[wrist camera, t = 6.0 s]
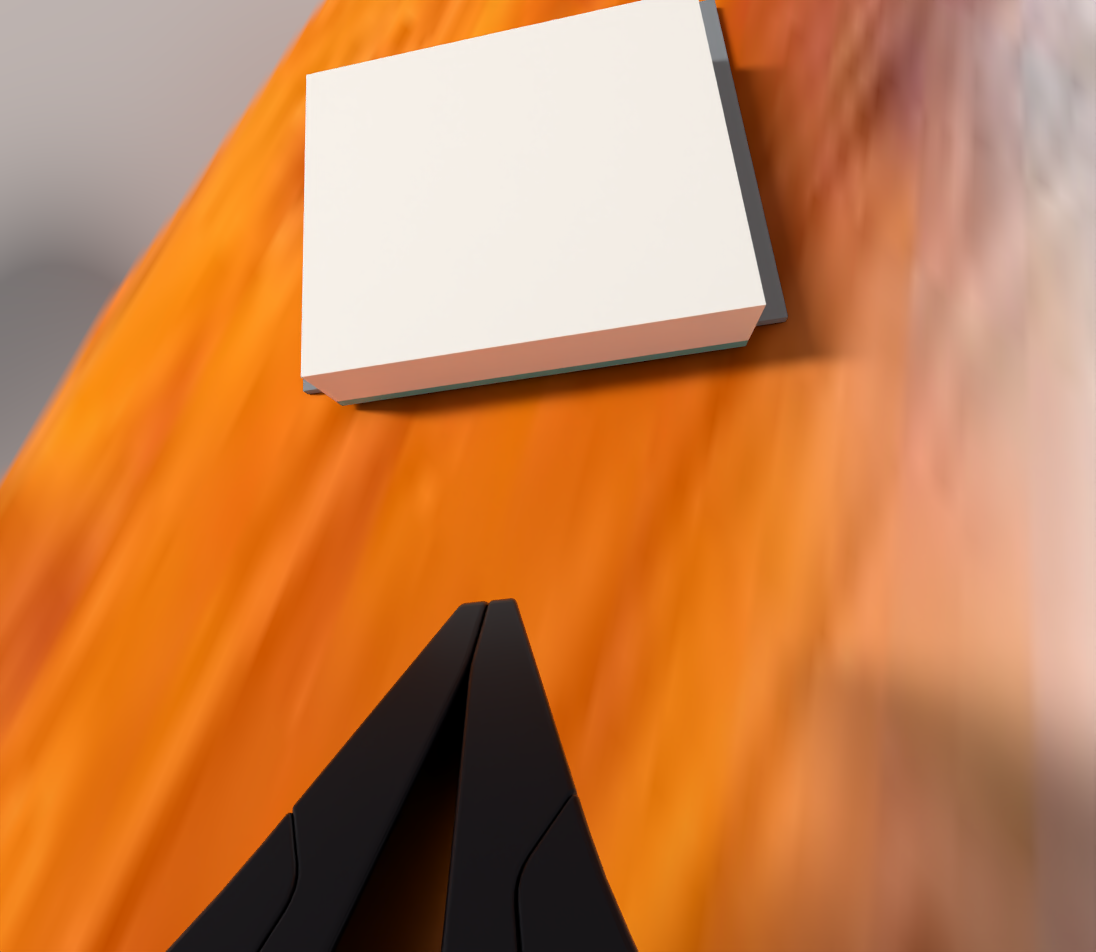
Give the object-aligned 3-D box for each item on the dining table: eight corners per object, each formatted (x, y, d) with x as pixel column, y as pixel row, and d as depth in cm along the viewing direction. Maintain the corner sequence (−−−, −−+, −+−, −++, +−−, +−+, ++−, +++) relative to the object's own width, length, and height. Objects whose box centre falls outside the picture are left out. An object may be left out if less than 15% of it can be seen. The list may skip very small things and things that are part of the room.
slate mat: (785, 321, 18) (787, 317, 17) (308, 394, 19) (303, 390, 19) (713, 7, 21) (714, -2, 21) (312, 93, 23) (308, 87, 22)
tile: (766, 304, 15) (695, -12, 18) (300, 377, 16) (306, 74, 19) (745, 345, 17) (686, 61, 20) (342, 405, 19) (341, 133, 22)
